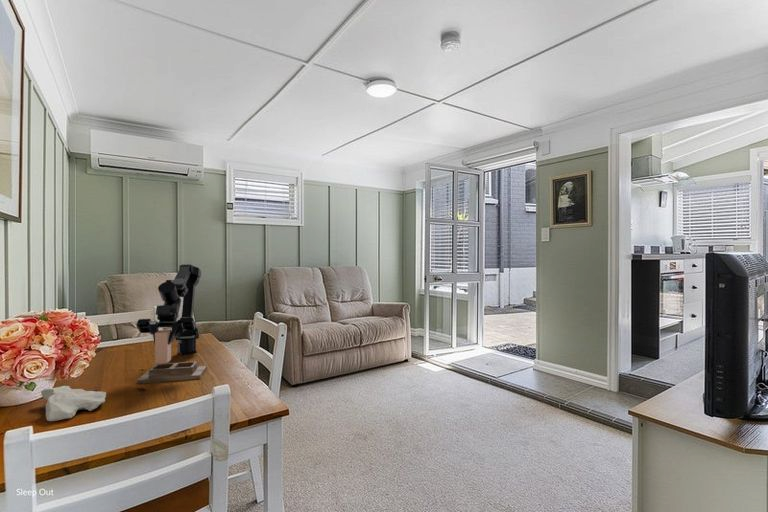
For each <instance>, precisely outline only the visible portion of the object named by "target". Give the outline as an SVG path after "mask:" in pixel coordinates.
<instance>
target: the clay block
mask: <svg viewBox="0 0 768 512" xmlns="http://www.w3.org/2000/svg"><path fill="white" fill-rule="evenodd" d="M171 330H172V329H165V330H159V331H157V332H156V333H155V344H154V365H156V364H166V363H170V361H171V360H172V343H171V344H170V345H168V339H169V336H170V333H171Z"/></svg>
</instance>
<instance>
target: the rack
mask: <svg viewBox="0 0 768 512" xmlns="http://www.w3.org/2000/svg"><path fill="white" fill-rule="evenodd" d="M207 369H208V366H207V365H199V366H198V361H197V360H196V361H185V362H168V363H158V364H154V365H153V366H152V367H151V368H150V369H148V370H147V371H146V372H145V373H143V375H141V376H140V377H138V379H136V384H148V383H160V382H161V383H162V382H163V383H164V382H173V381H174V382H175V381H186V380H199V379H201V378H202V377H203V375H204V374H205V372H206V371H207ZM205 370H206V371H205Z"/></svg>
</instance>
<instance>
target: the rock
mask: <svg viewBox="0 0 768 512" xmlns="http://www.w3.org/2000/svg"><path fill="white" fill-rule="evenodd" d="M40 393H41V394H40V395H41V396H42V397H43V398H44V399H45V400H47V402H46V404H45V419H46V420H47V421H48V422H57V421H60V420H66V419H72V418H73V417H74V416H75V415H76V414H77V411H80V410H88V411H89V412H92V411H94V410H95V409H97V408H98V407H99V406H100V405H102V404H104V403H105V402H106V397H107V392H106V391H93V390H85V389H83V388H71V387H70V386H69V385H62V386H58V387H52V388H51V387H50V388H44V389H43V390H41V391H40Z"/></svg>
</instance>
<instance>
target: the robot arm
mask: <svg viewBox="0 0 768 512" xmlns="http://www.w3.org/2000/svg"><path fill="white" fill-rule="evenodd" d="M201 277H202V270H201V269H200V268H199V267H197V266H194V265H193V264H190V263H189V264H187V263H186V264H185V263H184V264H179V268H178V271H177V273H176V275H175V277H174V279H165V282H162V283H160V284H159V285H158V287H157V290H158V294H159V295H160V297H161V300H162V301H163V302H164V303H163V305H162V304H161V305H157V306H156V311H155V315H156V316H157V317H156V319H157V320H152V319H151V318H139V319H138V320H137V322H136V324H135V325H136V327H137V330H138V331H139V333H141V334H149V333H150V335H152V336H153V337H152V339H153V345H155V333H156V332H157V331H160V330H159V329H160V328H171V329H170V330H171V333H170V336H169V339H168V345H170V344H171V345H172V342H173V341H174V340H175V341H178V342H177V352H178V353H177V352H176V353H177V354H180V355H182V354H185V355H188V354H187V353H190V354H193V353H192V352H195V353H197V352H196V351H198V350H197V340H198V339H200V332H199V328H198V326H197V322H196V321H195V318H194V307H195V306H194V305H195V294H196V293H195V292H196V287H197V285H198V284H199V283H200V278H201ZM181 298H182V299H181ZM181 304H182V306H181ZM180 307H182V310H181V316H180V318H179V312H180V309H181V308H180Z"/></svg>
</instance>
